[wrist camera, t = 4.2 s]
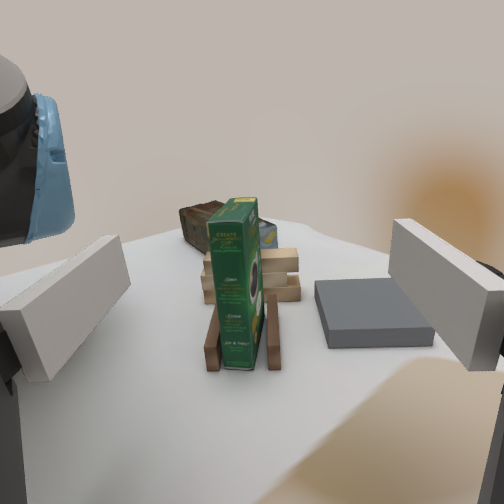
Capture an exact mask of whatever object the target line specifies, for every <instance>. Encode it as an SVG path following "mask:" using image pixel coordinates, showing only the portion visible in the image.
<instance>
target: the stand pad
mask: <svg viewBox="0 0 504 504" xmlns="http://www.w3.org/2000/svg"><path fill="white" fill-rule="evenodd" d="M315 299H316V303H317V307H318V310H319V314H320V318H321V322H322V325H323V329H324V333H325V336H326V340H327V344H328V347H329V348H357V347H400V346H432V345H433V340H434V335H435V330H434V329H433V327H432V326H431V325H430V324H429V322H428V321H427V320H426V319H425V318H424V316H423V315H422V314H421V313H420V311H419V310H418V309H417V308H416V306H415V305H414V304H413V303H412V302H411V300H410V299H409V298H408V297H407V295H406V294H405V293H404V292H403V291H402V289H401V288H400V287H399V286H398V284H397V283H396V282H395V281H394V280H393V278H373V279H346V280H319V281H315Z"/></svg>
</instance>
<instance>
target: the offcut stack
mask: <svg viewBox="0 0 504 504" xmlns="http://www.w3.org/2000/svg"><path fill="white" fill-rule="evenodd" d="M260 250H261V263H262V277H263V293H264V302H267V294H277V302H283V301H301V286H300V282H299V277H298V275H287V272H299V268H298V253H297V249H296V248H280V249H260ZM203 264H204V269H203V272H202V274H201V283H202V289H203V292H204V299H205V304H216V296H215V288H214V280H213V272H212V264H211V256H210V252H207V253H206V256H205V258H204V260H203Z"/></svg>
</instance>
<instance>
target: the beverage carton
mask: <svg viewBox="0 0 504 504" xmlns="http://www.w3.org/2000/svg"><path fill="white" fill-rule="evenodd" d="M224 205H225V204H224V203H221V202H218V201H216V200H215V201H211V202H209V203H205V204H198V205H195V206H192V207H186V208H182V209H180V210H179V214H180V221H181V224H182V230H183V235H184V239H185V240H187V241H188V242H189V243H191V244H192V245H193V246H195V247H196V248H198V249H199V250H200V251H202V252H203V253H205V254H206V253H207V252H210V248H209V241H208V234H207V226H206V222H207V221H208V220H209V219H210V218H211V217H212V216H213V215H214V214H215V213H216V212H217V211H218V210H220V209H221V208H222V206H224ZM258 220H259V234H260V249H278V242H277V226H276V225H275V224H272V223H270V222H268V221H265V220H262V219H260V218H258Z"/></svg>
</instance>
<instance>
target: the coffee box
mask: <svg viewBox="0 0 504 504" xmlns="http://www.w3.org/2000/svg"><path fill="white" fill-rule="evenodd" d="M206 226H207V234H208V241H209V248H210V256H211V264H212V272H213V280H214V288H215V296H216V304H217V312H218V320H219V328H220V338H221V346H222V354H223V364H224V367H225V368H228V369H239V370H249V369H253V368H254V364H255V360H256V356H257V350H258V345H259V340H260V336H261V331H262V326H263V322H264V317H265V314H264V293H263V277H262V263H261V250H260V234H259V220H258V203H257V198H256V197H248V198H247V197H246V198H232V199H229V200H228V202H226V204H225V205H224V206H222V208H221V209H220V210H218V211H217V212H216V213H215V214H214V215H213V216H212V217H211V218H210V219H209V220H208V221H207V222H206Z"/></svg>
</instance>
